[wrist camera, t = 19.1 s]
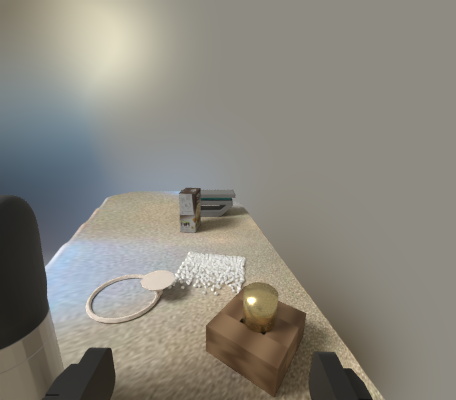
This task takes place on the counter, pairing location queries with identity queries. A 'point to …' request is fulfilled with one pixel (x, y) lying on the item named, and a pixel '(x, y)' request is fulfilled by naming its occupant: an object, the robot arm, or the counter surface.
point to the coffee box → (190, 209)
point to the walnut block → (256, 343)
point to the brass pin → (260, 307)
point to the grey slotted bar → (216, 202)
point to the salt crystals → (211, 263)
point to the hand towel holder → (150, 281)
